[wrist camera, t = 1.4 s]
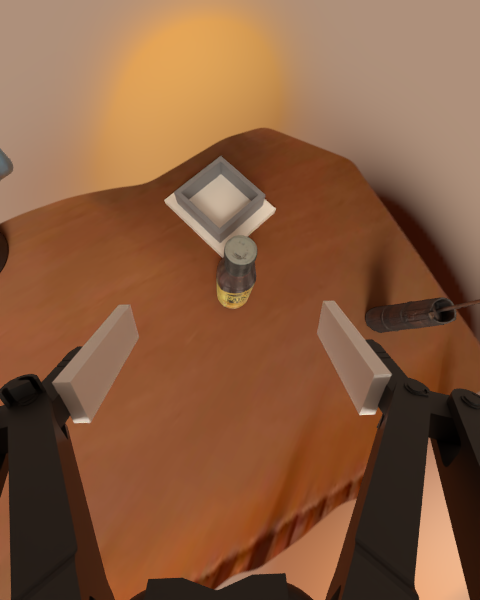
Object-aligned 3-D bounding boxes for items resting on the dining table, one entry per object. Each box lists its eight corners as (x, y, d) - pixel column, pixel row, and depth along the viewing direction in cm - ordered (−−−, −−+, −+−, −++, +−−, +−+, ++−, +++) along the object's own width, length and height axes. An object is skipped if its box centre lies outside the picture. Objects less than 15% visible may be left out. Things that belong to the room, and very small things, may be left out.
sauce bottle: (227, 316, 46) (228, 287, 27) (211, 290, 47) (200, 244, 28) (255, 299, 47) (275, 259, 28) (238, 274, 48) (246, 219, 29)
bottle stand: (165, 203, 51) (159, 188, 47) (218, 162, 54) (217, 144, 50) (223, 258, 49) (222, 248, 44) (274, 212, 52) (279, 198, 47)
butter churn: (355, 348, 46) (541, 335, 19) (347, 300, 48) (504, 228, 21) (400, 345, 46) (644, 330, 19) (390, 299, 49) (597, 226, 21)
